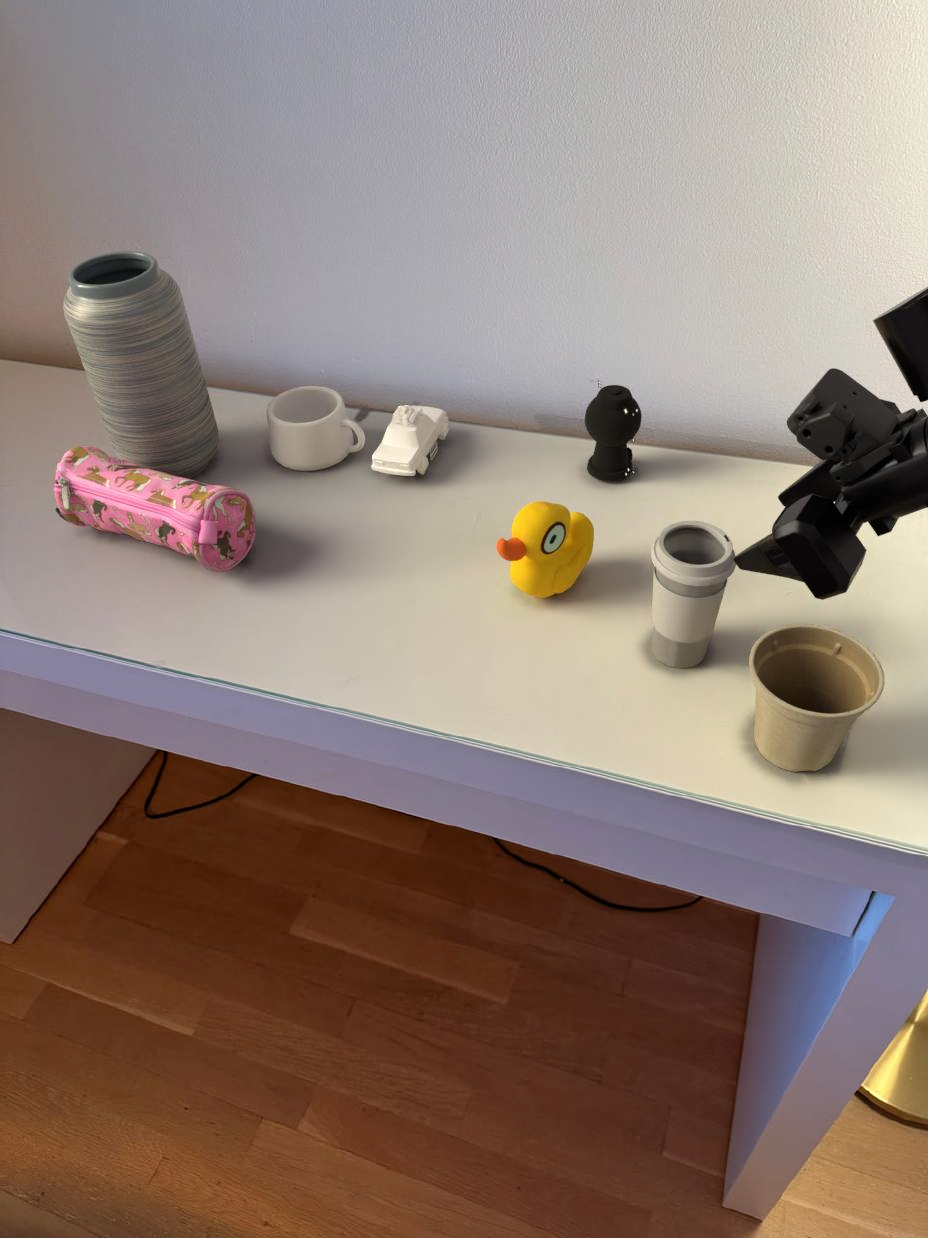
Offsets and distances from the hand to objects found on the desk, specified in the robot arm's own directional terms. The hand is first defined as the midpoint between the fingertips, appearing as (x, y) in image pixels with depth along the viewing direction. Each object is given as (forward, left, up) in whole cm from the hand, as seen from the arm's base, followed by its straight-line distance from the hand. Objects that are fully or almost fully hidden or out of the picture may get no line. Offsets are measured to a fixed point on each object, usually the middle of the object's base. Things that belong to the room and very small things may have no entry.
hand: (759, 530), depth 74 cm
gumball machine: (+21, -18, -13) cm, 31 cm away
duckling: (+18, +2, -13) cm, 22 cm away
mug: (+52, -6, -13) cm, 54 cm away
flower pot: (-8, +9, -13) cm, 17 cm away
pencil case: (+56, +15, -13) cm, 59 cm away
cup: (+4, +3, -13) cm, 14 cm away
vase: (+66, +4, -13) cm, 67 cm away
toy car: (+42, -10, -13) cm, 45 cm away
